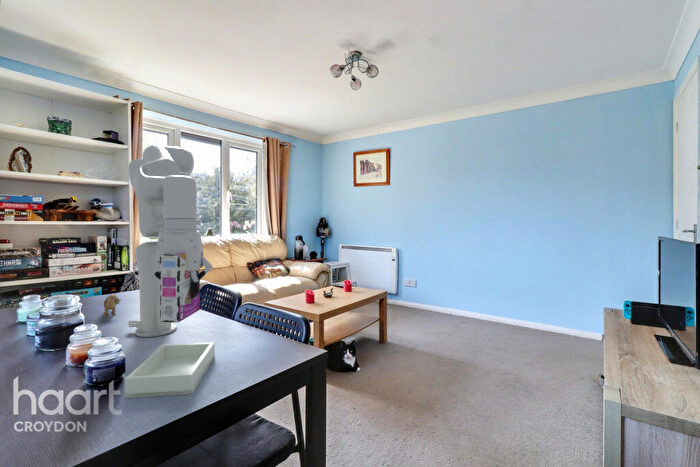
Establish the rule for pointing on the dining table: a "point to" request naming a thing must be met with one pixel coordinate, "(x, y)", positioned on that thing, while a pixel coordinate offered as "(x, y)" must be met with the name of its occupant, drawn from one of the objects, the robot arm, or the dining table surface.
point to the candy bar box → (176, 289)
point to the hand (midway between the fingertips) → (181, 296)
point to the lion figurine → (111, 304)
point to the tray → (170, 370)
